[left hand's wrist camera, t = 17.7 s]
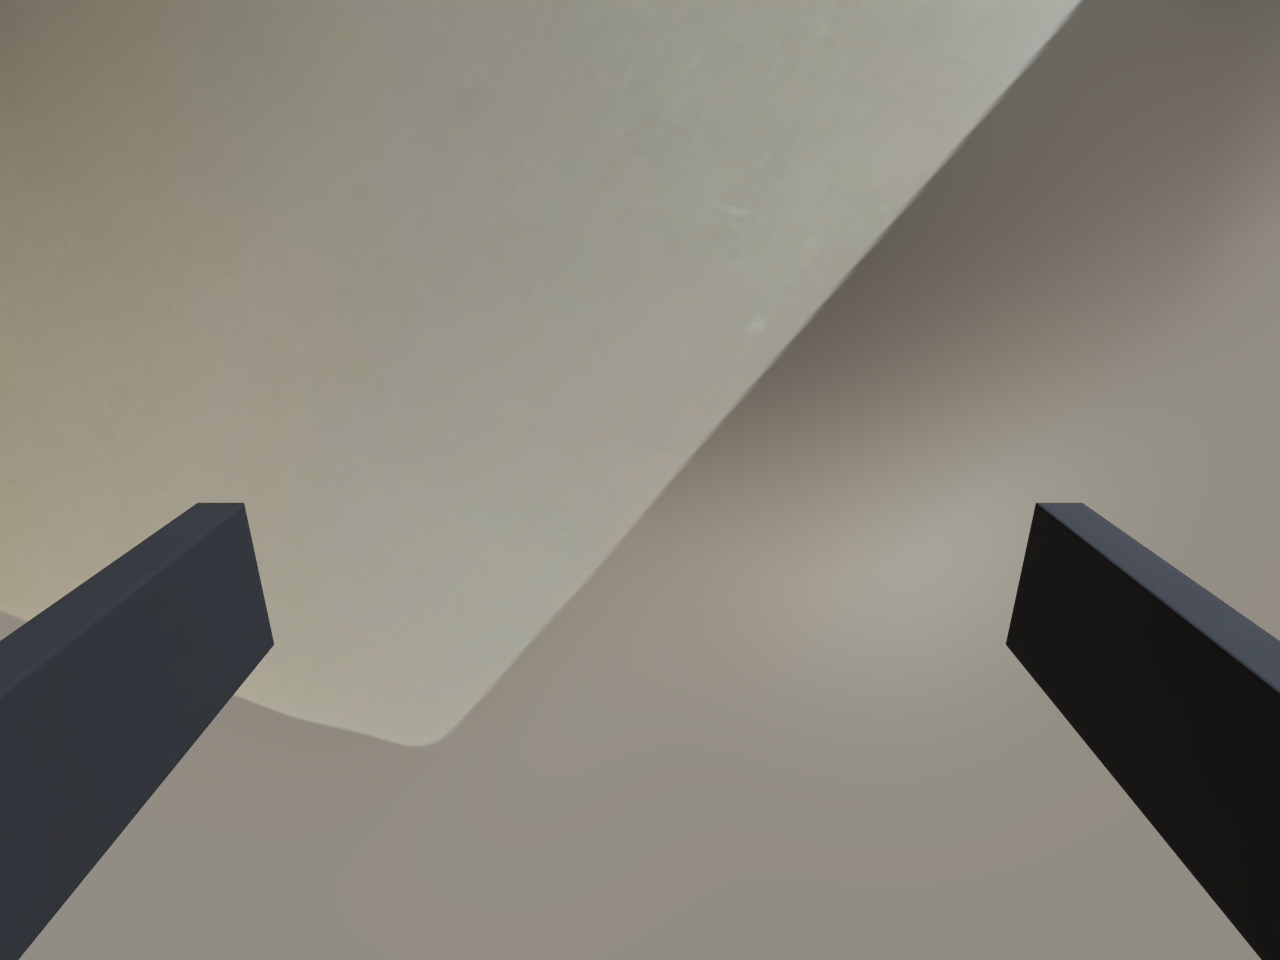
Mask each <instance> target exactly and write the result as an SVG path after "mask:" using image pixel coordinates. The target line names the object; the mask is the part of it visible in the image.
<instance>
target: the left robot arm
mask: <svg viewBox="0 0 1280 960" xmlns="http://www.w3.org/2000/svg"><path fill="white" fill-rule="evenodd" d="M273 645H274V642H273V637H272V632H271V628H270V623H269V618H268V614H267V609H266V604H265V599H264V595H263V590H262V585H261V581H260V576H259V571H258V567H257V562H256V557H255V552H254V548H253V543H252V538H251V534H250V529H249V524H248V520H247V515H246V510H245V506H244V503H197V504H196V505H194V506H193V507H191V508H190V509H188V510H187V511H186V512H184V513H183V514H181V515H180V516H178V517H177V518H176V519H174V520H173V521H171V522H170V523H168V524H167V525H166V526H164V527H163V528H161V529H160V530H158V531H157V532H156V533H154V534H153V535H151V536H150V537H148V538H147V539H146V540H144V541H143V542H141V543H140V544H138V545H137V546H136V547H134V548H133V549H131V550H130V551H128V552H127V553H126V554H124V555H123V556H121V557H120V558H118V559H117V560H116V561H114V562H113V563H111V564H110V565H108V566H107V567H106V568H104V569H103V570H101V571H100V572H98V573H97V574H96V575H94V576H93V577H91V578H90V579H88V580H87V581H86V582H84V583H83V584H81V585H80V586H78V587H77V588H76V589H74V590H73V591H71V592H70V593H68V594H67V595H66V596H64V597H63V598H61V599H60V600H58V601H57V602H56V603H54V604H53V605H51V606H50V607H48V608H47V609H46V610H44V611H43V612H41V613H40V614H38V615H37V616H36V617H34V618H33V619H31V620H30V621H28V622H27V623H26V624H24V625H23V626H21V627H20V628H18V629H17V630H16V631H14V632H13V633H11V634H10V635H8V636H7V637H6V638H4V639H3V640H1V641H0V960H18V959H19V958H20V957H21V956H22V955H23V953H24V952H25V951H26V950H27V948H28V947H29V946H30V945H31V943H32V942H33V941H34V940H35V938H36V937H37V936H38V935H39V934H40V932H41V931H42V930H43V929H44V927H45V926H46V925H47V924H48V922H49V921H50V920H51V919H52V918H53V916H54V915H55V914H56V913H57V911H58V910H59V909H60V908H61V906H62V905H63V904H64V903H65V902H66V900H67V899H68V898H69V897H70V895H71V894H72V893H73V892H74V890H75V889H76V888H77V887H78V886H79V884H80V883H81V882H82V881H83V879H84V878H85V877H86V876H87V874H88V873H89V872H90V871H91V869H92V868H93V867H94V866H95V865H96V863H97V862H98V861H99V860H100V858H101V857H102V856H103V855H104V853H105V852H106V851H107V850H108V849H109V847H110V846H111V845H112V844H113V842H114V841H115V840H116V839H117V837H118V836H119V835H120V834H121V833H122V831H123V830H124V829H125V828H126V826H127V825H128V824H129V823H130V821H131V820H132V819H133V818H134V816H135V815H136V814H137V813H138V812H139V810H140V809H141V808H142V807H143V805H144V804H145V803H146V802H147V800H148V799H149V798H150V797H151V796H152V794H153V793H154V792H155V791H156V789H157V788H158V787H159V786H160V784H161V783H162V782H163V781H164V780H165V778H166V777H167V776H168V774H169V773H170V772H171V771H172V770H173V768H174V767H175V766H176V765H177V763H178V762H179V761H180V760H181V759H182V757H183V756H184V755H185V754H186V752H187V751H188V750H189V749H190V747H191V746H192V745H193V744H194V742H195V741H196V740H197V739H198V738H199V736H200V735H201V734H202V733H203V731H204V730H205V729H206V728H207V727H208V725H209V724H210V723H211V722H212V720H213V719H214V718H215V717H216V715H217V714H218V713H219V712H220V710H221V709H222V708H223V707H224V706H225V704H226V703H227V702H228V701H229V699H230V698H231V697H232V696H233V694H234V693H235V692H236V691H237V690H238V688H239V687H240V686H241V685H242V683H243V682H244V681H245V680H246V678H247V677H248V676H249V675H250V673H251V672H252V671H253V670H254V669H255V667H256V666H257V665H258V664H259V662H260V661H261V660H262V659H263V657H264V656H265V655H266V654H267V653H268V651H269V650H270V649H271V648H272V646H273ZM1006 645H1007V646H1008V648H1009V649H1010V650H1011V651H1012V653H1013V654H1014V655H1015V656H1016V657H1017V659H1018V660H1019V661H1020V662H1021V664H1022V665H1023V666H1024V667H1025V669H1026V670H1027V671H1028V672H1029V673H1030V675H1031V676H1032V677H1033V678H1034V680H1035V681H1036V682H1037V683H1038V685H1039V686H1040V687H1041V688H1042V689H1043V691H1044V692H1045V693H1046V694H1047V696H1048V697H1049V698H1050V699H1051V701H1052V702H1053V703H1054V704H1055V705H1056V707H1057V708H1058V709H1059V710H1060V712H1061V713H1062V714H1063V715H1064V717H1065V718H1066V719H1067V720H1068V722H1069V723H1070V724H1071V725H1072V726H1073V728H1074V729H1075V730H1076V731H1077V733H1078V734H1079V735H1080V736H1081V738H1082V739H1083V740H1084V741H1085V743H1086V744H1087V745H1088V746H1089V747H1090V749H1091V750H1092V751H1093V752H1094V754H1095V755H1096V756H1097V757H1098V759H1099V760H1100V761H1101V762H1102V763H1103V765H1104V766H1105V767H1106V768H1107V770H1108V771H1109V772H1110V773H1111V775H1112V776H1113V777H1114V778H1115V780H1116V781H1117V782H1118V783H1119V784H1120V786H1121V787H1122V788H1123V789H1124V791H1125V792H1126V793H1127V794H1128V796H1129V797H1130V798H1131V799H1132V800H1133V802H1134V803H1135V804H1136V805H1137V807H1138V808H1139V809H1140V810H1141V812H1142V813H1143V814H1144V815H1145V816H1146V818H1147V819H1148V820H1149V821H1150V823H1151V824H1152V825H1153V826H1154V828H1155V829H1156V830H1157V831H1158V833H1159V834H1160V835H1161V836H1162V837H1163V839H1164V840H1165V841H1166V842H1167V844H1168V845H1169V846H1170V847H1171V849H1172V850H1173V851H1174V852H1175V853H1176V855H1177V856H1178V857H1179V858H1180V860H1181V861H1182V862H1183V863H1184V865H1185V866H1186V867H1187V868H1188V869H1189V871H1190V872H1191V873H1192V874H1193V876H1194V877H1195V878H1196V879H1197V881H1198V882H1199V883H1200V884H1201V886H1202V887H1203V888H1204V889H1205V890H1206V892H1207V893H1208V894H1209V895H1210V897H1211V898H1212V899H1213V900H1214V901H1215V903H1216V904H1217V905H1218V906H1219V908H1220V909H1221V910H1222V911H1223V913H1224V914H1225V915H1226V916H1227V918H1228V919H1229V920H1230V921H1231V923H1232V924H1233V925H1234V926H1235V927H1236V929H1237V930H1238V931H1239V932H1240V933H1241V935H1242V936H1243V937H1244V939H1245V940H1246V941H1247V942H1248V943H1249V945H1250V946H1251V947H1252V948H1253V950H1254V951H1255V952H1256V953H1257V955H1258V956H1259V957H1260V958H1261V959H1262V960H1280V641H1279V640H1277V639H1276V638H1274V637H1273V636H1272V635H1270V634H1269V633H1267V632H1266V631H1264V630H1263V629H1262V628H1260V627H1259V626H1257V625H1256V624H1254V623H1253V622H1252V621H1250V620H1249V619H1247V618H1246V617H1244V616H1243V615H1242V614H1240V613H1239V612H1237V611H1236V610H1234V609H1233V608H1232V607H1230V606H1229V605H1227V604H1226V603H1224V602H1223V601H1222V600H1220V599H1219V598H1217V597H1216V596H1214V595H1213V594H1212V593H1210V592H1209V591H1207V590H1206V589H1204V588H1203V587H1202V586H1200V585H1199V584H1197V583H1196V582H1194V581H1193V580H1192V579H1190V578H1189V577H1187V576H1186V575H1184V574H1183V573H1182V572H1180V571H1179V570H1177V569H1176V568H1174V567H1173V566H1172V565H1170V564H1169V563H1167V562H1166V561H1164V560H1163V559H1162V558H1160V557H1159V556H1157V555H1156V554H1154V553H1153V552H1152V551H1150V550H1149V549H1147V548H1146V547H1144V546H1143V545H1142V544H1140V543H1139V542H1137V541H1136V540H1134V539H1133V538H1132V537H1130V536H1129V535H1127V534H1126V533H1124V532H1123V531H1122V530H1120V529H1119V528H1117V527H1116V526H1114V525H1113V524H1112V523H1110V522H1109V521H1107V520H1106V519H1104V518H1103V517H1102V516H1100V515H1099V514H1097V513H1096V512H1094V511H1093V510H1092V509H1090V508H1089V507H1087V506H1086V505H1084V504H1083V503H1036V506H1035V510H1034V515H1033V520H1032V524H1031V529H1030V534H1029V538H1028V543H1027V548H1026V553H1025V557H1024V562H1023V567H1022V571H1021V576H1020V581H1019V585H1018V590H1017V595H1016V599H1015V604H1014V609H1013V614H1012V618H1011V623H1010V628H1009V632H1008V637H1007V642H1006Z"/></svg>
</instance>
